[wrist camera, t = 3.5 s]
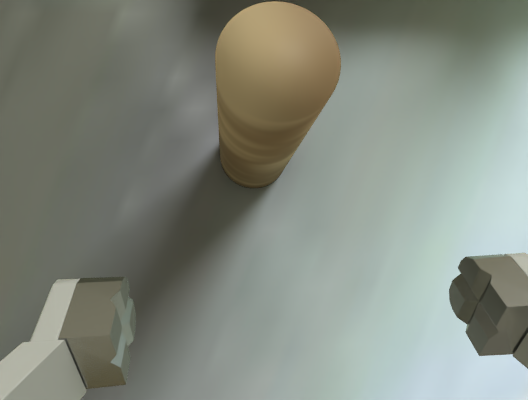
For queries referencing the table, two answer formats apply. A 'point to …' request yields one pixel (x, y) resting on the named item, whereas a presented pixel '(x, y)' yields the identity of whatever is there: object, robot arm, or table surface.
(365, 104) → the table surface
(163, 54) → the table surface
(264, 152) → the stool leg
